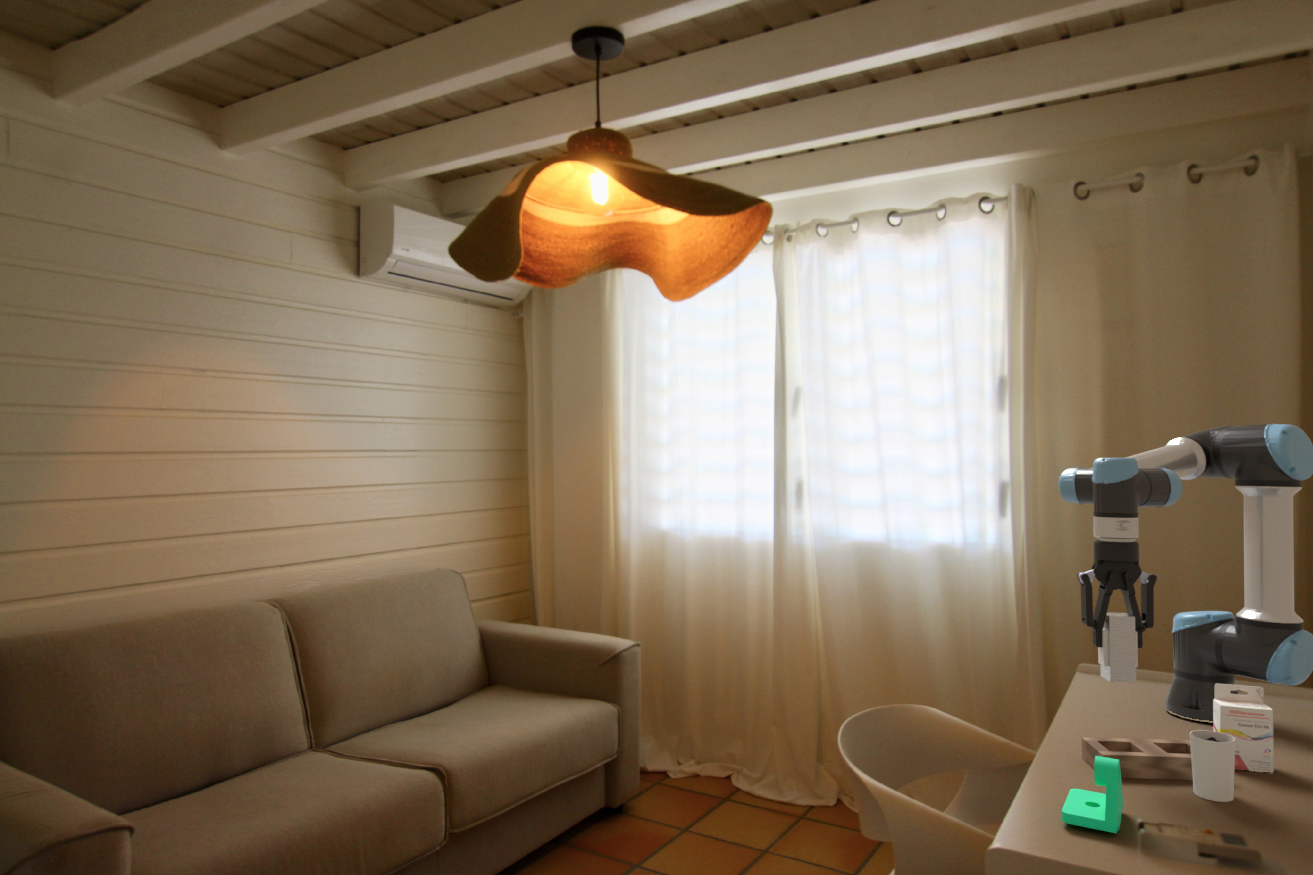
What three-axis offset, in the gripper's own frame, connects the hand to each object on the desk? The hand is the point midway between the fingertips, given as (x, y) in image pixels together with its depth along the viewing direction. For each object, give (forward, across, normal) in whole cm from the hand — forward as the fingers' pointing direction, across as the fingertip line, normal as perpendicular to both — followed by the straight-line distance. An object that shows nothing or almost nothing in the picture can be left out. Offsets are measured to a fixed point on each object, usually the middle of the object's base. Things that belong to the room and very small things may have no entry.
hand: (1117, 664), depth 160 cm
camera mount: (+20, -14, -25) cm, 35 cm away
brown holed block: (+19, +5, 0) cm, 20 cm away
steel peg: (+3, 0, 0) cm, 3 cm away
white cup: (+19, +10, -12) cm, 25 cm away
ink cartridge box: (+19, +23, +3) cm, 30 cm away
